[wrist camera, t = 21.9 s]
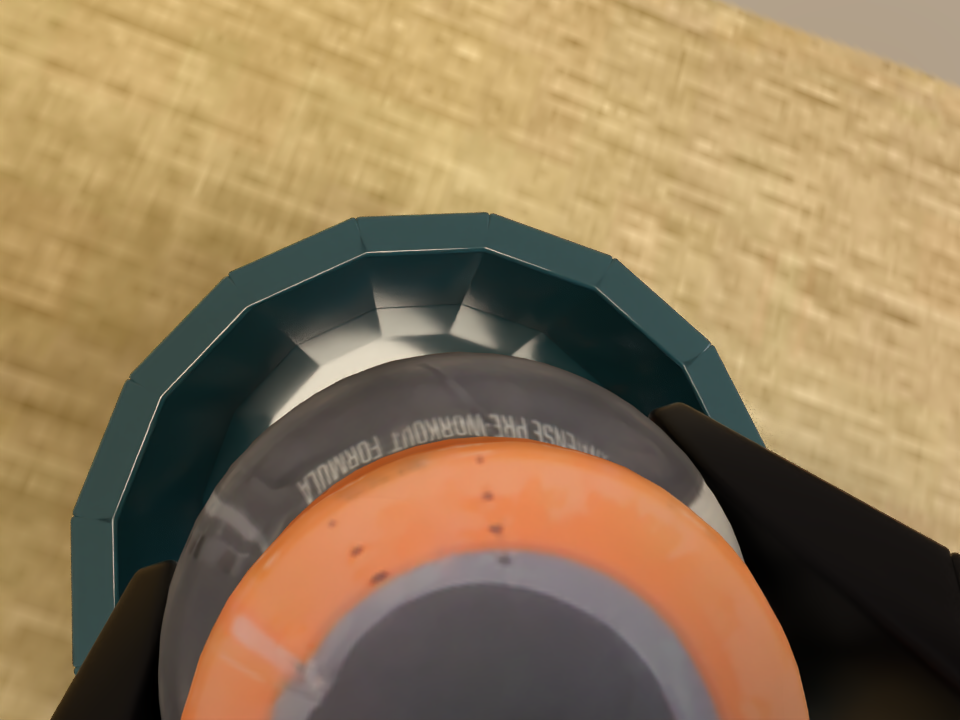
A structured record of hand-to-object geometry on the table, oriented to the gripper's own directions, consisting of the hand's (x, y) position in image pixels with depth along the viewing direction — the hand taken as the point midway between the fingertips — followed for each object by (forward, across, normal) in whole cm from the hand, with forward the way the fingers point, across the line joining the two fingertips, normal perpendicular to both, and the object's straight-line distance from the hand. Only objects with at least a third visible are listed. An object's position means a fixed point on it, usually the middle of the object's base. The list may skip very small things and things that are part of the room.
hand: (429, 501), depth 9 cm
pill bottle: (+4, 0, +6) cm, 7 cm away
